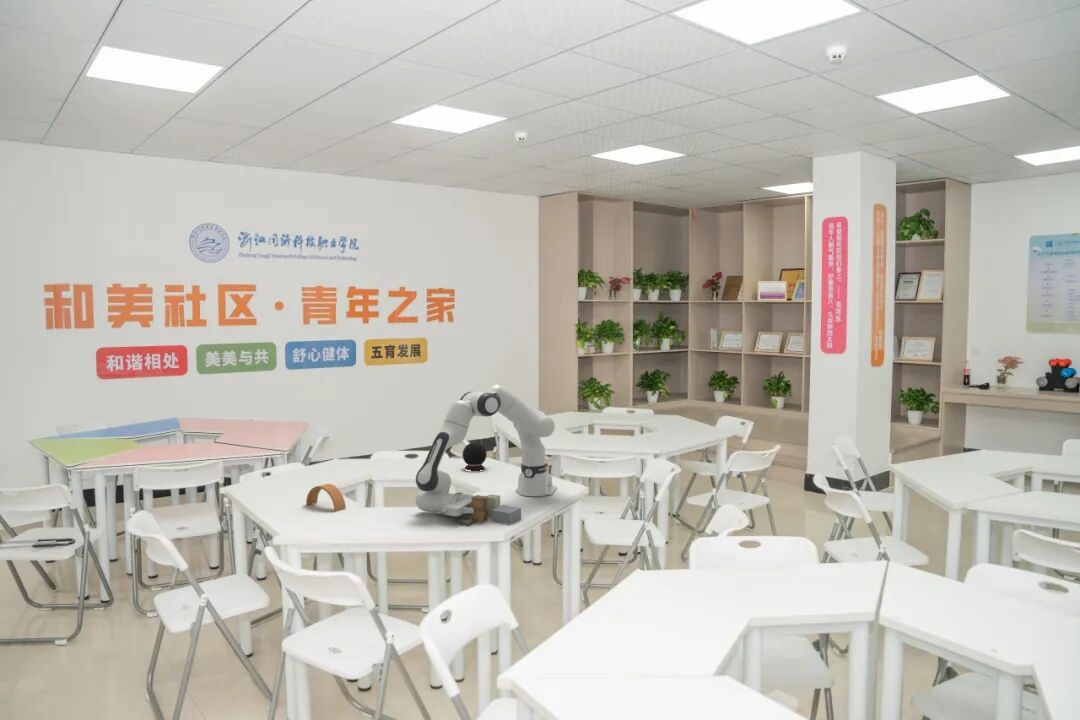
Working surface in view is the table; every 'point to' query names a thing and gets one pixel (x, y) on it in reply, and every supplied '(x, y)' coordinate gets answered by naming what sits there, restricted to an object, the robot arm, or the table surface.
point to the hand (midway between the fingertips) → (479, 507)
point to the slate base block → (506, 514)
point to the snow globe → (474, 456)
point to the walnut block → (480, 508)
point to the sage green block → (493, 503)
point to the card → (466, 522)
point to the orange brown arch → (333, 493)
